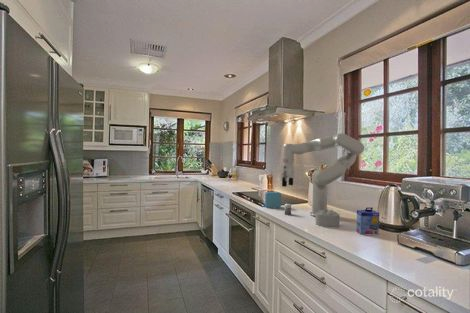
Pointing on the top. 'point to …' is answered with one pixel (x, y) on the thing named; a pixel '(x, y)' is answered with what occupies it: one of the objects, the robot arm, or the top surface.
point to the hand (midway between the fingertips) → (287, 185)
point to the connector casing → (287, 209)
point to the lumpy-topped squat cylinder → (327, 218)
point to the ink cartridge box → (367, 221)
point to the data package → (273, 199)
